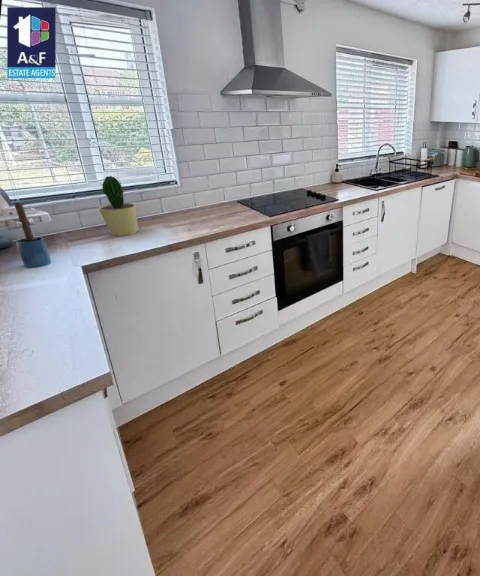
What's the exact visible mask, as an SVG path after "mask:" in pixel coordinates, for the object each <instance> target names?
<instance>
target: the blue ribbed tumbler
mask: <svg viewBox="0 0 480 576" xmlns="http://www.w3.org/2000/svg"><path fill="white" fill-rule="evenodd" d="M35 237H36V238H37V240H38V241H32V242H24V241H23V239H24V238H25V237H24V238H19V239H16V240H15V244H16V247H17V249H18V252H19V255H20V258H21V262H22V264H23V266H24V268H39V267H45V266H48V265H50V264H51V263H52V260H51V256H50V254H49V253H50V252H49V250H48V247H47V243H46V241H45V238H44V237H41V236H35Z"/></svg>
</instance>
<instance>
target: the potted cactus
mask: <svg viewBox="0 0 480 576" xmlns="http://www.w3.org/2000/svg"><path fill="white" fill-rule="evenodd" d="M121 183H122V182H121V181H119V179H118V178H117V177H115V176H114V175H113V176H111V175H109V176H108V175H106V174H105V176H104V179H103V181H102V184H100V186H101V189H102V193H103V195H104V198H107V202H108V203H109V204H106V205H102V206H99V207H98V210H99V212H100V215H101V216H102V218H103V221H104V223H105V224H106V226H107V228H108V230H109V232H110V235H112V236H113V235H126V236H131V235H134V234H133V233H135V234H137V233H138V232H139V225H138V217H137V216H138V215H137V207H136V204H135V203H131V202H125V197H124V194H125V192H126V190H124V189H123V185H122V184H121ZM137 231H138V232H137ZM136 232H137V233H136ZM130 234H131V235H130Z"/></svg>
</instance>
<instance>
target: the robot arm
mask: <svg viewBox="0 0 480 576" xmlns="http://www.w3.org/2000/svg"><path fill="white" fill-rule="evenodd" d="M23 208H24V211H25V214H26V217H27V220H28V223H29V226H30V227H31V226H34V225H35V226H36V225H40V224H46V223H51V222H52V218H51V215H50V213H49V212H48V211H47V212H46V211H44V210H39V209H35V208H33V207H23ZM22 226H23V225H22V222H20V220H19V217H18V214H17V211H16V208H15V207H12V201H11V198H10V197H9V195H8V193H7V192H6V191H5V190H4V189H3V188H2V187H1V186H0V230H4V231H5V230H6V231H10V232H11V231H13V232H14V231H18V230H20V229H22Z"/></svg>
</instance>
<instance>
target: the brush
mask: <svg viewBox="0 0 480 576" xmlns="http://www.w3.org/2000/svg"><path fill="white" fill-rule="evenodd" d="M13 205H14V208H16V211H17V214H18V217H19V220H20V222H22V225H23V226H22V228H21V229H22V232H23V234H24V239H23V238H22V239H23V241H24V242H32V241H38V240H37V238H36V237H37V236H34V235H33V232H32V229H31V225H30V226H29V223H28V220H27V217H26V214H25V211H24V208H25V207H24V205H23V202H22V201H13Z"/></svg>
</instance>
